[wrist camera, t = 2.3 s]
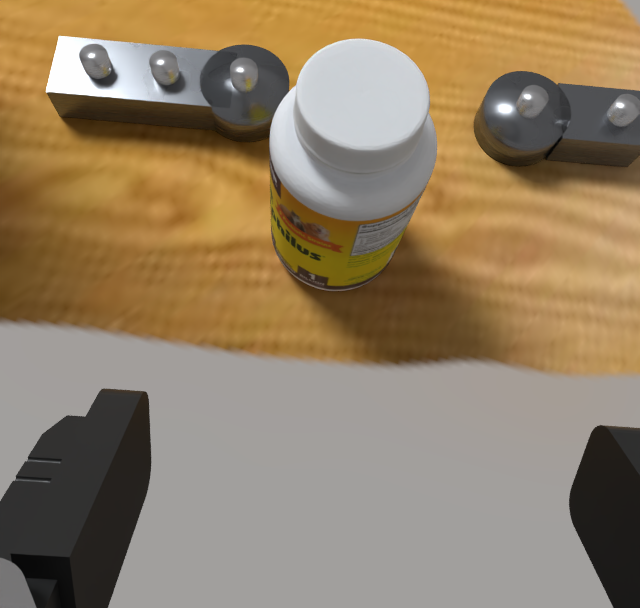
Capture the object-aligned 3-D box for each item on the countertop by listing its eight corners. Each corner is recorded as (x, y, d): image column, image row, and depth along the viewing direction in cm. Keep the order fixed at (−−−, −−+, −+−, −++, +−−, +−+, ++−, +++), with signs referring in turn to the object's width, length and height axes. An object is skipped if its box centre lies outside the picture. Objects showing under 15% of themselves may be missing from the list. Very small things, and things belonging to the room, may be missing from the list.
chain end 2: (474, 162, 29) (492, 130, 27) (472, 92, 30) (489, 55, 28) (628, 176, 29) (660, 145, 27) (620, 106, 31) (650, 70, 28)
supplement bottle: (250, 209, 28) (236, 48, 18) (359, 165, 29) (401, -9, 19) (304, 317, 26) (320, 205, 16) (416, 266, 27) (494, 134, 18)
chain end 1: (57, 125, 28) (36, 89, 26) (73, 54, 30) (55, 13, 27) (285, 145, 29) (285, 111, 26) (291, 74, 30) (292, 36, 28)
